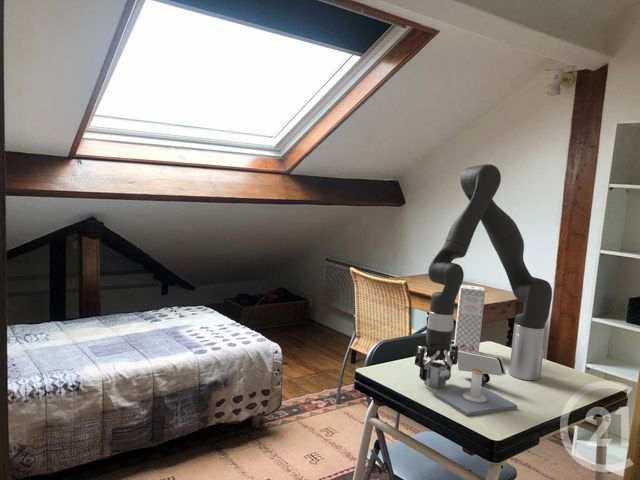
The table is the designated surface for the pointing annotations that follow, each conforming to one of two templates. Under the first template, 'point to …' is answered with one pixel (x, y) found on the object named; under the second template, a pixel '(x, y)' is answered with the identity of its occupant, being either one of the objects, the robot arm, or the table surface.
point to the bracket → (480, 364)
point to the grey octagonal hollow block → (437, 375)
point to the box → (469, 318)
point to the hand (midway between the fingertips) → (434, 378)
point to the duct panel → (474, 398)
